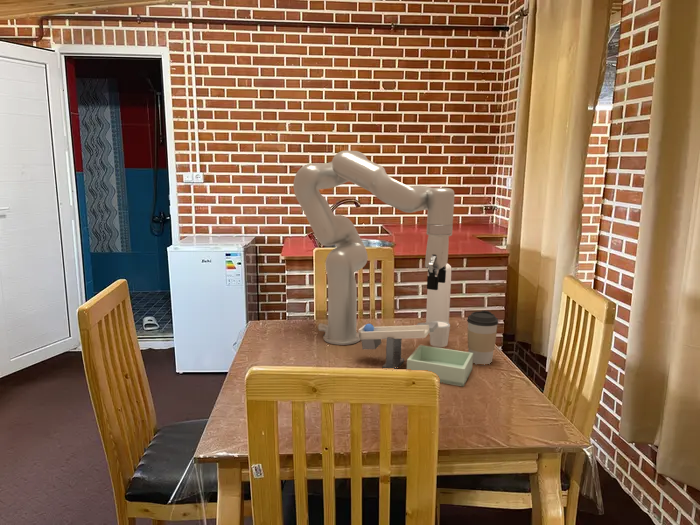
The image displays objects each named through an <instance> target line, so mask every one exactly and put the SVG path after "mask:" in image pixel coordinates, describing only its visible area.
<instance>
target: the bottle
mask: <svg viewBox="0 0 700 525" xmlns="http://www.w3.org/2000/svg"><path fill="white" fill-rule="evenodd" d="M428 269H429V267H428V268H427V270H428ZM451 286H452V266H451V265H450V264H449V263H448V262H447V264H446V280H445V283H439V282H438V289H437V290H431V289H427V288H426V290H427V291H426V292H427V293H426V313H425V314H426V315H425V317H426V318H425V323H429V322H433V321H443V322H447V323H449V324H450V306H451Z"/></svg>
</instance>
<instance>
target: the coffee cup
mask: <svg viewBox="0 0 700 525" xmlns="http://www.w3.org/2000/svg"><path fill="white" fill-rule="evenodd" d="M498 324H499V319H498V318H497V317H496V316H495V314H494V313H492V312H491V311H489V310H481V311H472V313H471V314H469V315H468V316H467V348H468V351H467V352H470V353H473V363H475V364H474V365H477V364H484V365H483V366H486V365H485V364H489V365H491V364H492V363H491V362H493V357H494V351H495V347H496V341H497V332H498V330H497V329H498ZM490 363H491V364H490Z"/></svg>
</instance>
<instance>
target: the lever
mask: <svg viewBox="0 0 700 525" xmlns="http://www.w3.org/2000/svg"><path fill="white" fill-rule="evenodd" d="M365 325H366V324H364V325H363V326H361V327H360V328H359V329H358V330H357V331H358V332H357V333H359V339H360V341H361V347H362V350H376V349H377V348H378V347H380V346H381V345H382V340H387V337H390V338H394V339H402V340H404V339H407V340H409V339H425V338H427V336H428V335H430V332H434V330H435V329H436V328H437V327H438V322H429V323H426V322H418V323H417V324H416V325H415V324H414V325H413V324H412V325H410V324H409V325H390V326H388V325H387V326H386V325H385V326H374V331H369V332H365V331H364V326H365Z"/></svg>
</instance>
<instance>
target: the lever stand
mask: <svg viewBox="0 0 700 525" xmlns="http://www.w3.org/2000/svg"><path fill="white" fill-rule="evenodd" d="M402 342H403V339H394V338H390V337H387V339H386V342H385V343H386V346H385V347H386V349H385V352H386V353H385V363H384V364H383V365H382V369H383V368H394V369H397V370H398V369H399V368H400V367H401V365H402V364H403V363H404V362H405V358H403V357H402V344H403V343H402ZM395 367H396V368H395ZM397 367H399V368H397Z"/></svg>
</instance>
